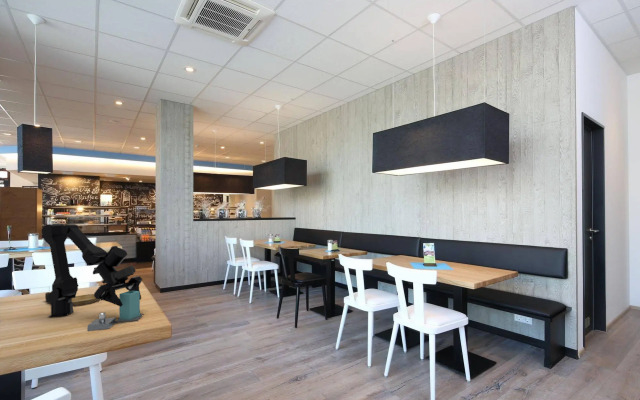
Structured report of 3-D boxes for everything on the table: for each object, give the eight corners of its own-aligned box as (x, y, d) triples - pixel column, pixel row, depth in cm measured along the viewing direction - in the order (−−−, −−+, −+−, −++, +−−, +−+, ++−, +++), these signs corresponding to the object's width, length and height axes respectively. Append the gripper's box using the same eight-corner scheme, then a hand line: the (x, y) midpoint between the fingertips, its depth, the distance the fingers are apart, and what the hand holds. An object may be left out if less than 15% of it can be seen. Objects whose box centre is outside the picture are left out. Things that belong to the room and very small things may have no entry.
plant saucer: (57, 308, 148) (57, 303, 148) (71, 300, 162) (72, 295, 162) (93, 305, 152) (93, 299, 152) (105, 297, 166) (105, 292, 166)
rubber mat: (115, 323, 124) (115, 321, 124) (121, 317, 132) (121, 315, 132) (137, 320, 126) (137, 319, 126) (143, 314, 134) (143, 313, 134)
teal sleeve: (119, 319, 127) (119, 293, 128) (129, 315, 132) (129, 290, 133) (129, 319, 126) (129, 294, 127) (139, 315, 131) (139, 291, 131)
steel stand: (87, 330, 117) (87, 317, 117) (95, 324, 123) (95, 311, 124) (109, 328, 119) (109, 315, 119) (115, 322, 125) (115, 309, 125)
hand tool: (62, 306, 152) (62, 296, 153) (51, 308, 149) (51, 298, 150) (53, 299, 165) (53, 290, 165) (43, 301, 162) (43, 292, 162)
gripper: (99, 264, 122) (123, 294, 119) (139, 257, 140) (160, 283, 137) (83, 284, 124) (106, 314, 121) (124, 275, 142) (145, 301, 139)
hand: (131, 302), depth 129 cm, fingers open, 9 cm apart
